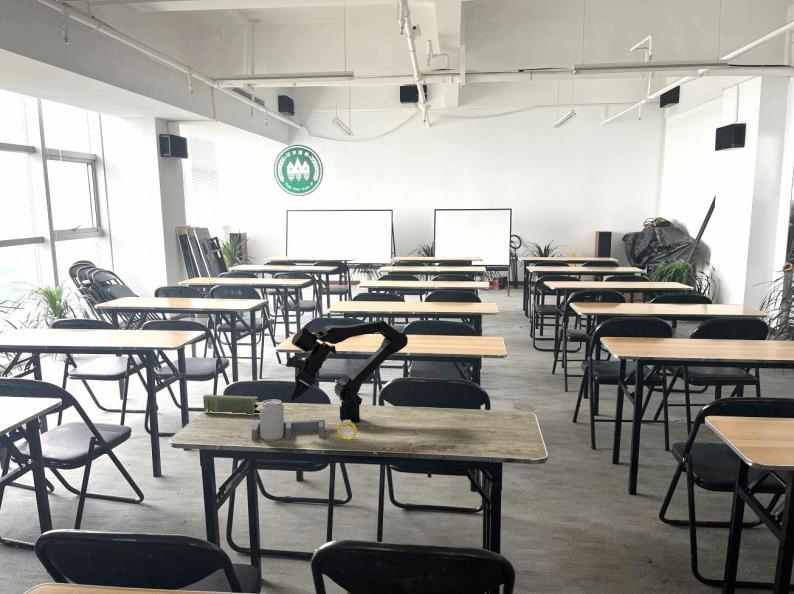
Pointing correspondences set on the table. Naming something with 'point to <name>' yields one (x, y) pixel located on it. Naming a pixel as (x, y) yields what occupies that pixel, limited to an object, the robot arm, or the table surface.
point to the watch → (351, 425)
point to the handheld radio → (230, 404)
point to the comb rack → (295, 428)
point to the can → (271, 420)
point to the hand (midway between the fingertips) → (291, 398)
